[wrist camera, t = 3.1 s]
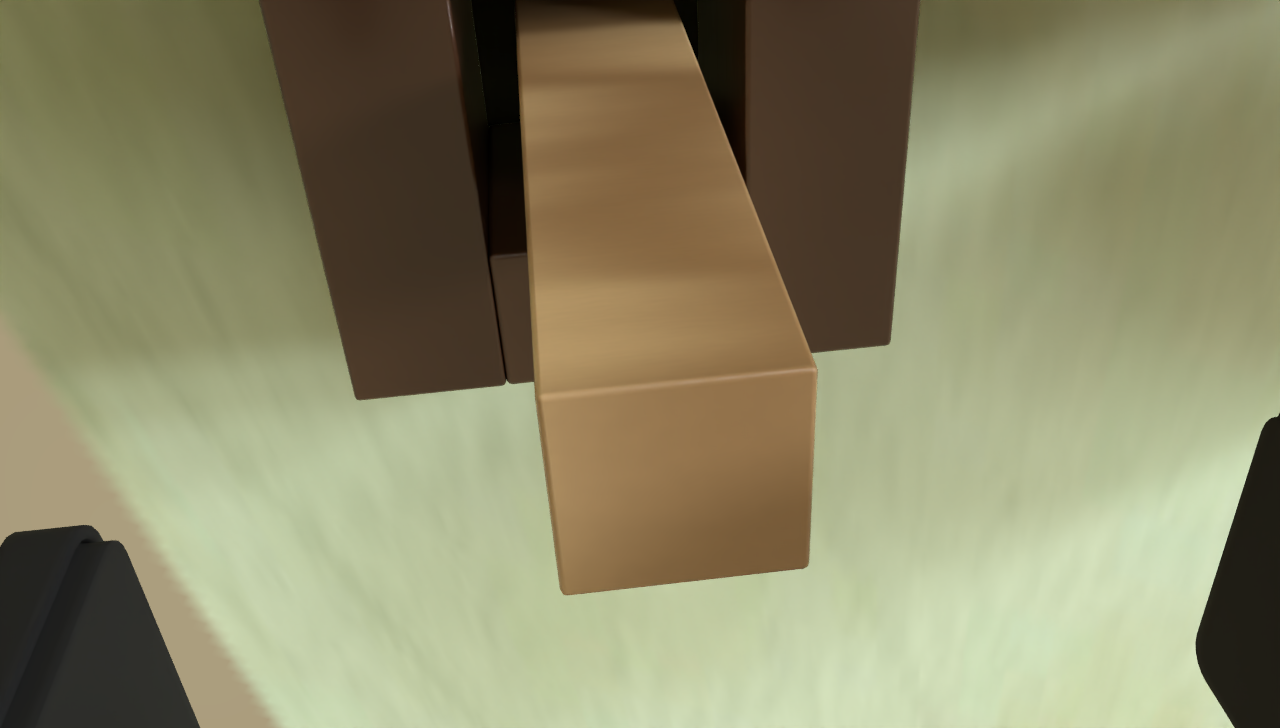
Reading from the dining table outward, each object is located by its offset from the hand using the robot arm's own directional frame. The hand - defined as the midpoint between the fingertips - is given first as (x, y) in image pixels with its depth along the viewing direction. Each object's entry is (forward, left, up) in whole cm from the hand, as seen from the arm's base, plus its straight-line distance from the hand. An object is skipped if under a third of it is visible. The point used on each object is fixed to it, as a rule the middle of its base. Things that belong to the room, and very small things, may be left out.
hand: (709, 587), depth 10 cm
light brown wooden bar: (0, 0, -14) cm, 14 cm away
